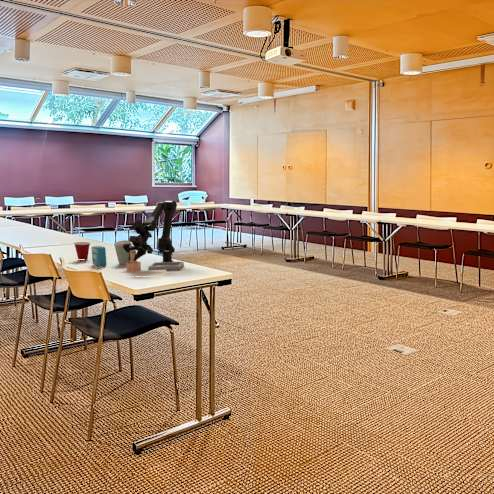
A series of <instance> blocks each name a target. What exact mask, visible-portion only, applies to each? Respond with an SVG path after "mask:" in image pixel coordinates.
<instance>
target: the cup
mask: <svg viewBox="0 0 494 494" xmlns="http://www.w3.org/2000/svg"><path fill="white" fill-rule="evenodd" d="M141 265H142V264H141V261H137V263H130V262H127V263H126V265H125V266H126V271H129V272H133V271H140V270H142V266H141Z"/></svg>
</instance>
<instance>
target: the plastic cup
mask: <svg viewBox="0 0 494 494" xmlns="http://www.w3.org/2000/svg"><path fill="white" fill-rule="evenodd" d="M73 244H74V248H75V251H76V256H77V259H78V260H79V259H87V260H89V249H90V245H91V242H87V241H86V242H85V241H80V242H79V241H78V242H77V241H76V242H73Z"/></svg>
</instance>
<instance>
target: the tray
mask: <svg viewBox="0 0 494 494" xmlns="http://www.w3.org/2000/svg"><path fill="white" fill-rule="evenodd" d="M184 265H185V264H184V261H173V262H162V261H160V262H159V261H158V262H157V261H156V262H153V263H151V264H150V265H149V266H148V267H147V268H148V271H153V270H154V271H155V270H159V271H160V270H165V271H166V272H167V271H169V272H170V271H180V270H181V269H182V268H183V267H185V266H184Z"/></svg>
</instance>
